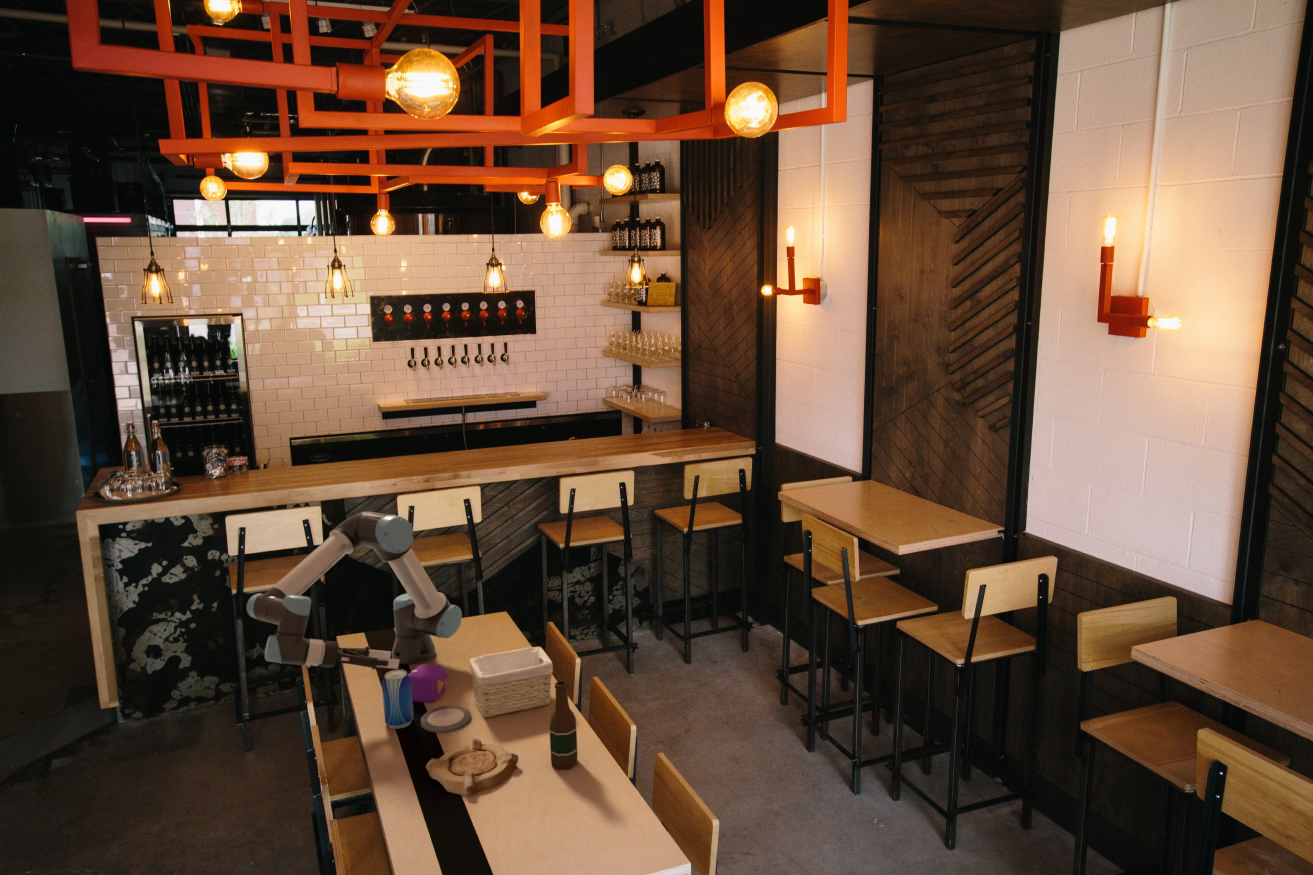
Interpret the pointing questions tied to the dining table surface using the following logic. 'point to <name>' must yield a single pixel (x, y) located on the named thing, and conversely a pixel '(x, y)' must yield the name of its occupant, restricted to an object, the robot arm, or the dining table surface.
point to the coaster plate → (445, 719)
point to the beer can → (397, 699)
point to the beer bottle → (563, 731)
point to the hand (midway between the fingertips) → (394, 659)
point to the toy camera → (427, 683)
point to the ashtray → (473, 768)
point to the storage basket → (511, 681)
